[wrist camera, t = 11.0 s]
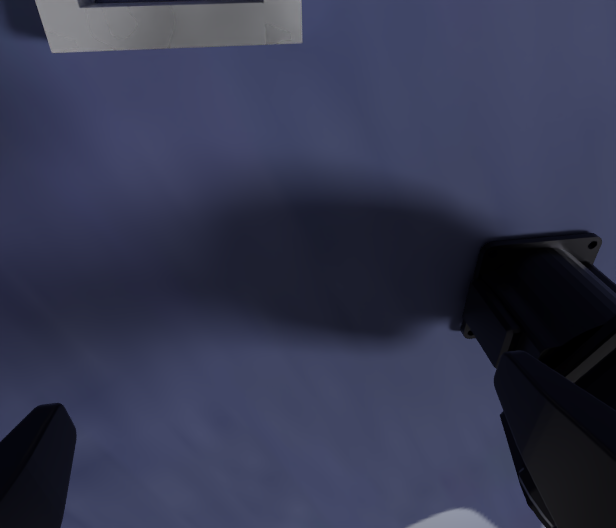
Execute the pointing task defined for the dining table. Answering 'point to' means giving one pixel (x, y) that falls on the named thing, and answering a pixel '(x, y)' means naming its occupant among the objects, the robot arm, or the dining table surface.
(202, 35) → the rail
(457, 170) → the dining table surface
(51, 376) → the dining table surface
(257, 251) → the dining table surface
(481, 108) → the dining table surface
